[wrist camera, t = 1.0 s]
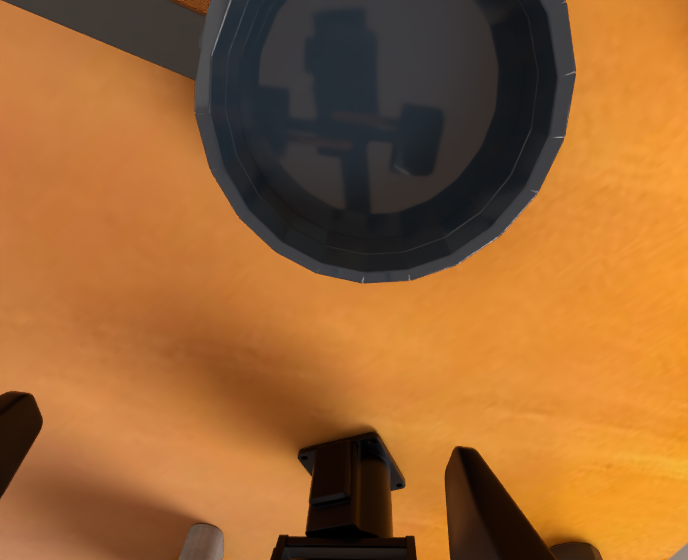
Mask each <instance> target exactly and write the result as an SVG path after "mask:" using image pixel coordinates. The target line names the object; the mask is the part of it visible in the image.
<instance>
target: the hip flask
mask: <svg viewBox="0 0 688 560" xmlns="http://www.w3.org/2000/svg"><path fill="white" fill-rule="evenodd" d="M223 552H224V540H223V533H222V532H221V531H220V530H219V529H218V528H216V527H214V526H212V525H208V524H196V525H193V526H192V527H191V528H190V529H189V532H188V535H187V538H186V540H185V543H184V546H183V548H182V551H181V554H180V556H179V559H178V560H222V559H223Z"/></svg>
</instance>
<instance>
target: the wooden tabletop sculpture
mask: <svg viewBox="0 0 688 560" xmlns="http://www.w3.org/2000/svg"><path fill="white" fill-rule="evenodd" d="M550 551H551V552H552V554H553V555H554V556H555V558H556V559H557V560H603V559H602V557H601V555H600V552H599V551H598V550H597V549H595V548H594V547H593V546H591V545H590V544H583V543H574V542H571V543H566V544H561V545H556V546H554V547H552V548H551V549H550Z"/></svg>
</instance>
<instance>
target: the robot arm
mask: <svg viewBox="0 0 688 560" xmlns="http://www.w3.org/2000/svg"><path fill="white" fill-rule="evenodd" d="M42 424H43V418H42V415H41V413H40V410H39V408H38V405H37V403H36V400H35V398H34V396H33V395H32V394H30V393H25V392H17V391H10V392H6V393H4V394H2V395H0V499H1V497H2V496H3V494H4V492H5V491H6V489H7V487H8V486H9V484H10V482H11V480H12V479H13V477H14V475H15V474H16V472H17V470H18V468H19V467H20V465H21V463H22V461H23V460H24V458H25V456H26V455H27V453H28V451H29V449H30V448H31V446H32V444H33V443H34V441H35V439H36V437H37V436H38V434H39V432H40V430H41V428H42ZM298 459H299V461H300V462H301V463H302V465H303V466H304V467H305V468H306V470H307V471H308V472H309V474H310V475H311V476H312V481H311V488H310V495H309V510H308V517H307V525H306V532H305V534H306V537H298V536H288V535H279V538H278V541H277V544H276V548H274V549H273V553H272V556H271V559H270V560H417V557H416V548H415V538H414V536H406V537H393V525H392V504H391V491H393V490H398V489H402V488H404V487H405V479H404V477H403V475H402V474H401V472H400V470H399V469H398V467H397V465H396V463H395V462H394V460H393V458H392V457H391V455H390V453H389V452H388V450H387V448H386V446H385V445H384V443H383V441H382V440H381V438H380V436H379V435H378V434H377V433H374V432H371V433H366V434H362V435H358V436H354V437H350V438H346V439H341V440H337V441H333V442H329V443H325V444H321V445H317V446H312V447H308V448H304V449H301V450H299V453H298ZM445 491H446V506H447V521H448V535H449V549H450V559H451V560H557V559H556V558H555V556H554V555H553V554H552V552H551V551H550V549H549V548H548V547H547V545H546V544H545V543H544V541H543V540H542V539H541V537H540V536H539V534H538V533H537V532H536V530H535V529H534V528H533V526H532V525H531V524H530V522H529V521H528V519H527V518H526V517H525V515H524V514H523V513H522V511H521V510H520V509H519V507H518V506H517V504H516V503H515V502H514V500H513V499H512V498H511V496H510V495H509V494H508V492H507V491H506V489H505V488H504V487H503V485H502V484H501V483H500V481H499V480H498V479H497V477H496V476H495V474H494V473H493V472H492V470H491V469H490V468H489V466H488V465H487V464H486V462H485V461H484V459H483V458H482V457H481V455H480V454H479V453H478V451H477V450H475V449H474V448H471V447H463V446H456V447H455V448H454V450H453V452H452V454H451V457H450V460H449V462H448V465H447V467H446V471H445Z"/></svg>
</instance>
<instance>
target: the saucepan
mask: <svg viewBox="0 0 688 560" xmlns="http://www.w3.org/2000/svg"><path fill="white" fill-rule="evenodd" d="M565 2H566V0H211V1H210V4H209V7H208V10H207V13H206V21H205V24H204V27H203V30H202V33H201V36H200V38H201V39H199V41H200V42H198V45H197V46H199V48H200V49H202V51H201V55H200V61H199V67H198V73H197V79H196V80H195V112H196V113H195V116H196V120H197V124H198V127H199V131H200V135H201V138H202V142H203V146H204V149H205V153H206V157H207V160H208V164H209V168H210V169H211V172H212V174H213V176H214V177H215V179H216V181H217V182H218V184H219V186H220V187H221V189H222V191H223V192H224V194H225V196H226V197H227V199H228V201H229V202H230V204H231V206H232V207H233V209H234V211H235V212H236V214H237V215H238V216H239V218H240V219H241V220H242V221H243V222H244V223H245V224H246V225H247V226H248V227H249V228H250V229H252V230H253V231H254V232H255V233H256V234H257V235H258V236H259V237H260V238H261V239H262V240H263V241H264V242H265V243H266V244H267V245H269V246H270V247H271V248H272V249H273V250H274V251H275V252H277V253H278V254H280V255H282V256H284V257H286V258H288V259H290V260H292V261H294V262H296V263H297V264H299V265H301V266H303V267H305V268H307V269H309V270H311V271H313V272H315V273H318V274H321V275H326V276H331V277H335V278H340V279H345V280H349V281H354V282H359V283H380V282H397V281H410V280H414V279H417V278H420V277H423V276H426V275H429V274H432V273H435V272H438V271H441V270H444V269H447V268H450V267H453V266H456V265H457V264H459V263H461V262H462V261H464V260H465V259H467V258H468V257H470V256H471V255H473V254H474V253H476V252H477V251H479V250H480V249H482V248H483V247H485V246H486V245H488V244H489V243H491V242H492V241H494V240H495V239H497V238H498V237H499V236H500V235H502V234H503V233H504V232H505V231H506V229H507V228H508V227H509V226H510V225H511V224H512V223H513V221H514V220H515V219H516V218H517V217H518V216H519V215H520V213H521V212H522V211H523V210H524V209H525V208H526V207H527V206H528V204H529V203H530V202H531V201H532V200H533V199H534V198H535V196H536V195H537V193H538V192H539V190H540V188H541V186H542V184H543V182H544V180H545V178H546V176H547V174H548V172H549V170H550V168H551V166H552V163H553V161H554V159H555V157H556V155H557V153H558V151H559V149H560V147H561V145H562V143H563V141H564V137H565V134H566V128H567V123H568V117H569V111H570V105H571V99H572V94H573V88H574V82H575V76H576V73H575V72H576V67H575V59H574V52H573V45H572V37H571V30H570V22H569V15H568V8H567V3H565ZM204 30H205V31H204ZM201 41H202V42H201Z"/></svg>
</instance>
